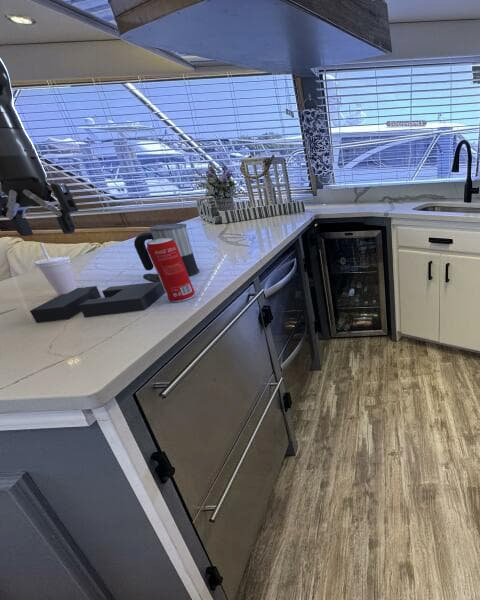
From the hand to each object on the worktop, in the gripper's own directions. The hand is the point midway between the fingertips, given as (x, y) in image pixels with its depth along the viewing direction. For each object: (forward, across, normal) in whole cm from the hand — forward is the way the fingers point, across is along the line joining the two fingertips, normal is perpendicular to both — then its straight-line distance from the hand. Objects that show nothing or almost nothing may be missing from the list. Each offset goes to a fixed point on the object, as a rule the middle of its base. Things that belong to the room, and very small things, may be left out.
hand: (48, 234), depth 71 cm
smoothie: (+18, -10, +10) cm, 23 cm away
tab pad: (+18, -1, -1) cm, 18 cm away
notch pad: (+18, +11, -1) cm, 21 cm away
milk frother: (+18, +13, +18) cm, 28 cm away
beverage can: (+18, +23, 0) cm, 29 cm away
